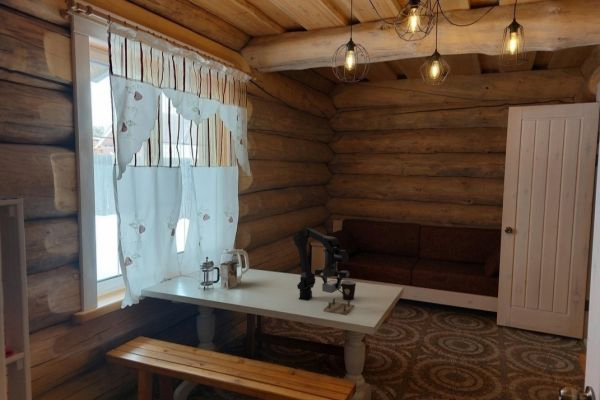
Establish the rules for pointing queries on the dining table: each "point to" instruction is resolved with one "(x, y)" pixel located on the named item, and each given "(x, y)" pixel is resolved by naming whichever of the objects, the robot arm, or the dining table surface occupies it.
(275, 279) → the dining table surface
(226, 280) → the coffee box
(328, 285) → the drive
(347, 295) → the coffee mug
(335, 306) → the wooden peg board
